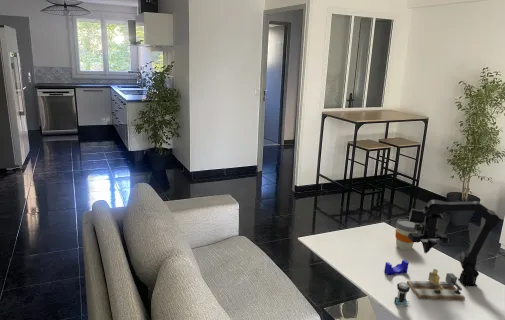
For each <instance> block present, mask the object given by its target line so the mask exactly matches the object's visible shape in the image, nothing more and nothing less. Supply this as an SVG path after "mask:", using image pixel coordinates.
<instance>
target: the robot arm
mask: <svg viewBox="0 0 505 320" xmlns="http://www.w3.org/2000/svg"><path fill="white" fill-rule="evenodd" d="M447 212H448V213H449V212H476V213H477V214H479V215H480V216H481V219H480V227H479V228H478V231H477V232H476V235H475V236H474V238H473V240H472V242H471V244H470V245H469V248H468V250H466V251H464V250H462V251H461V253H460V255H459V257H458V258H459V263H460V266H461V273H460V275H459V277H457V280H458V282H459V283H461V284H462V285H463V286H464V287H476V288H477V287H478V284H476V282H477V279H478V276H479V275H480V273H479V271H478V269H477V267H476V266H477V263H478V262H477V260H478V255H479V253H480V252H481V249H482V248H483V246H484V243H485V242H486V240H487V238H488V237H489V235H490V232H491V231H493V230H494V229H496V228H497V226H498V225H499V224H500V221H501V219H500V217H499V215H498V214H497V213H496V212H495V211H494V210H492V209H489V208H488V207H486V206H484V205H483V204H482V203H481V202H480V201H478V200H474V201H444V200H439V199H431V200H429V201H428V202H427V204H426V206H424V207H423V208H421V209H416V208H411V210H410V212H409V216H408V218H409V219H408V220H409V222H414V223H418V224H415V226H414V230H417V233H409V234H408V238H409V239H410V240H411V241H412V242H414V243H420V242H421V245H422V248H423V252H424V254H427V253H429V251H430V250H431V249H432V248H433V247H434V246H435V245H438V242H437V241H441V243H442V244H449V241H450V240H449V239H450V238H449V237H448V236H447V235H445V234H444V233H439V232H438V231H439V230H438V229H439V228H438V222H439V220H444V217H443V215H442V214H444V213H447ZM420 224H421V225H420ZM436 232H437V233H436ZM418 233H420V235H419V234H418Z"/></svg>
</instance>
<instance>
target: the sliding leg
mask: <svg viewBox="0 0 505 320" xmlns="http://www.w3.org/2000/svg"><path fill="white" fill-rule="evenodd" d="M438 271H439V270H438V269H437V268H433V269H432V271H431V272H429V274H428V279H427V281H430V282H431V283H432V284H437V285H438V287H439V292H441V290H444V288H443V287H442V286H441V285H440V284H439V282H440V279H441V277H440V275H438Z"/></svg>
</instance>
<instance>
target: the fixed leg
mask: <svg viewBox="0 0 505 320" xmlns="http://www.w3.org/2000/svg"><path fill="white" fill-rule="evenodd" d="M444 280H445V281H444V282H447V283H448V284H449V285H454V287H455V288H456V289H457V293H459V291H460V292H461V291H463V290H462V289H463V288H462V286H460V285H459V284H458V283H457V282H458V281H457V280H458V277H457V276H456V275H455V274H454V273H453V272H452V273H451V272H450V273H446V276H445V279H444Z"/></svg>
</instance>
